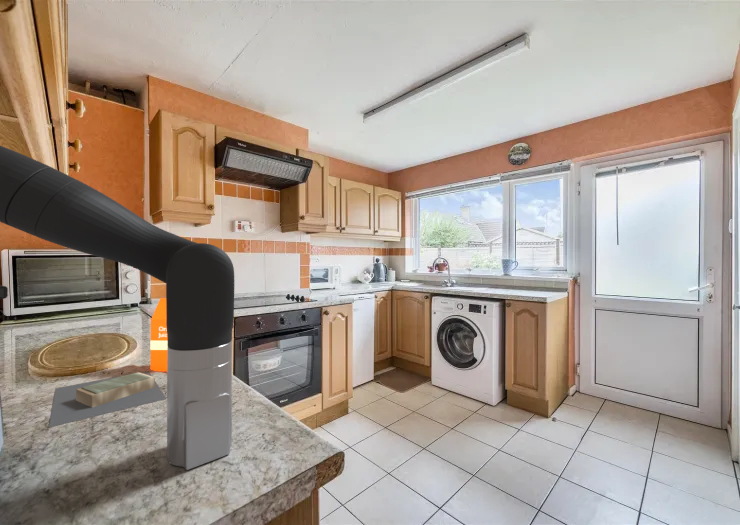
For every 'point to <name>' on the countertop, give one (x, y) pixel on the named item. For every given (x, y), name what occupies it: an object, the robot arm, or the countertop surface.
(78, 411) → the rubber mat
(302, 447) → the countertop surface
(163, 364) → the orange juice
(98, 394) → the birch plaque
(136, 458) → the countertop surface
